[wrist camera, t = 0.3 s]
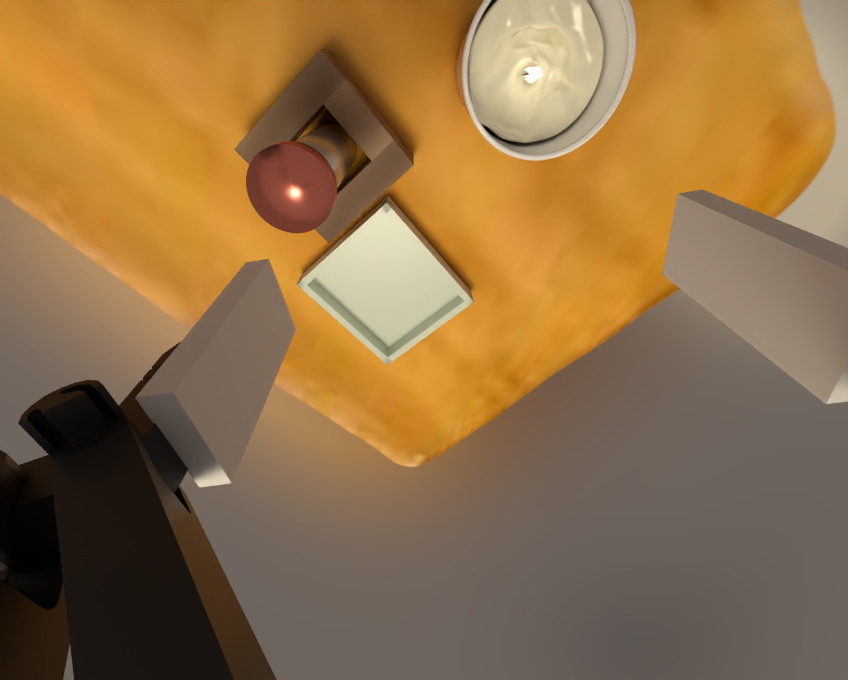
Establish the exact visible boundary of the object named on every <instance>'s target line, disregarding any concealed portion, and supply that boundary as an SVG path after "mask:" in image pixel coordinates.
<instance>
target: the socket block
mask: <svg viewBox="0 0 848 680" xmlns="http://www.w3.org/2000/svg"><path fill="white" fill-rule="evenodd" d="M325 108H327V109H328V111H329V112H330V113H331V114H332V115H333V116H334V118H335V119H336V120H337V121H338V122H339V124H340V125H341V126H342V127H343V128H344V129H345V131H346V132H347V133H348V134H349V135H350V136H351V138H352V139H353V140H354V141H355V142H356V143H357V145H358V146H359V147H360V148H361V149H362V150H363V152H364V153H365V154H366V155H367V156H368V158H369V160H368V161H367V162H366V163H365V164H364V165H363V166H362V167H361V168H359V169H358V170H357V171H356V172H355V173H354V174H353V175H352V176H351V177H350V178H349V179H348V180H347V181H346V182H345V183H344V184H343V185H342V186H341V187H340V188H339V189H338V190H337V199H336V202H335V205H334V207H333V209H332V211H331V212H330V214H329V216H328V217H327V219H326V220H325V221H324V222H323V223H322V224H321V225H320V226H319V227H317V228H315V230H316V231H317V232H318V233H319V234H320V235H321V236H322V237H323V238H324V239H325V240H326V241H327V242H328V243H329V242H330V241H331V240H333V239H334V238H335V237H336V236H337V235H338V234H339V233H340V232H341V231H342V230H343V229H345V228H346V227H347V226H348V225H349V224H350V223H351V222H352V221H353V220H354V219H355V218H356V217H358V216H359V215H360V214H361V213H362V212H363V211H364V210H365V209H366V208H367V207H368V206H370V205H371V204H372V203H373V202H374V201H375V200H376V199H377V198H378V197H379V196H380V195H381V194H383V193H384V192H385V191H386V190H387V189H388V188H389V187H390V186H391V185H392V184H393V183H395V182H396V181H397V180H398V179H399V178H400V177H401V176H402V175H403V174H404V173H405V172H406V171H408V170H409V169H410V168H411V167H412V166H413V165H414V161H413V156H412V154H411V153H410V152H409V151H408V149H407V148H406V147H405V146H404V144H403V143H402V142H401V141H400V139H399V138H398V137H397V136H396V134H395V133H394V132H393V131H392V129H391V128H390V127H389V126H388V124H387V123H386V122H385V120H384V119H383V118H382V117H381V115H380V114H379V113H378V112H377V110H376V109H375V108H374V107H373V105H372V104H371V103H370V102H369V100H368V99H367V98H366V97H365V95H364V94H363V93H362V92H361V90H360V89H359V88H358V86H357V85H356V84H355V83H354V81H353V80H352V79H351V78H350V76H349V75H348V74H347V73H346V71H345V70H344V69H343V68H342V66H341V65H340V64H339V63H338V61H337V60H336V59H335V58H334V56H333V55H332V54H331V53H330V52H329V51H326V50H322V49H320V51H319V52H318V53H317V54H316V55H315V56H314V58H313V59H312V60H311V61H310V62H309V63H308V64H307V66H306V67H305V68H304V69H303V70H302V71H301V73H300V74H299V75H298V76H297V77H296V78H295V80H294V81H293V82H292V83H291V84H290V85H289V86H288V88H287V89H286V90H285V91H284V92H283V93H282V95H281V96H280V97H279V98H278V99H277V100H276V101H275V103H274V104H273V105H272V106H271V107H270V108H269V110H268V111H267V112H266V113H265V114H264V115H263V117H262V118H261V119H260V120H259V121H258V122H257V123H256V125H255V126H254V127H253V128H252V129H251V130H250V132H249V133H248V134H247V135H246V136H245V137H244V138H243V140H242V141H241V142H240V143H239V144H238V145H237V147H236V148H235V149H234V150H235V151H236V152H237V153H238V154H239V155H240V156H241V157H242V158H243V159H244V160H245V161H246V162H247V163H248V164H249V165H250V163H251V161H252V160H253V158H254V157H255V156H256V155H257V154H258V153H259V152H260V151H262V150H263V149H265V148H267V147H269V146H271V145H273V144H275V143H278V142H281V141H296V139H297V138H298V137H299V136H300V135H301V134H302V133H303V132H304V131H305V130H306V129H307V128H308V126H309V125H310V124H311V123H312V122H313V121H314V120H315V119H316V118H317V117H318V116H319V115H320V114H321V112H322V111H323V110H324V109H325Z"/></svg>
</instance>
